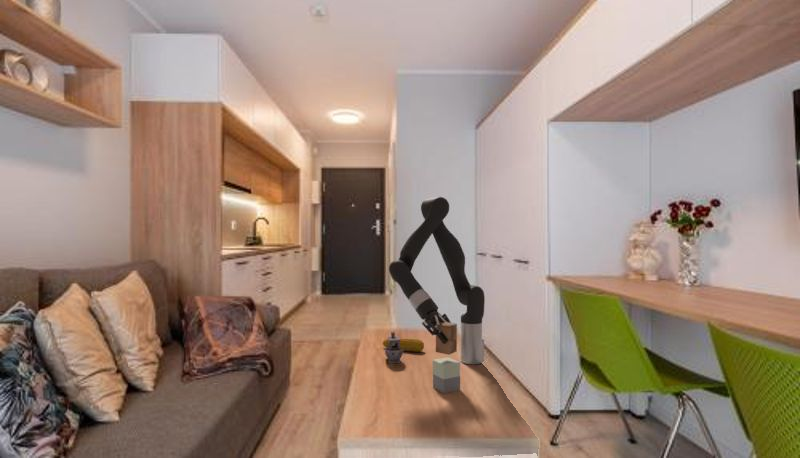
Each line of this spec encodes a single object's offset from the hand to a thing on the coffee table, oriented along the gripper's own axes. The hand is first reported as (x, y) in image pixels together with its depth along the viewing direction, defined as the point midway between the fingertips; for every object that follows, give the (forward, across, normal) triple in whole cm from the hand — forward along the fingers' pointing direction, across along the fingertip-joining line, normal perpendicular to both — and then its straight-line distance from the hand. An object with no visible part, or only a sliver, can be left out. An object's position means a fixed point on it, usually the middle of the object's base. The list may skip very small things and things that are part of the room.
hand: (450, 340), depth 154 cm
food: (-19, +32, +44) cm, 58 cm away
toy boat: (-13, +14, +39) cm, 43 cm away
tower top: (+8, 0, +10) cm, 13 cm away
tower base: (+11, 0, +14) cm, 18 cm away
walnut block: (+2, 0, +4) cm, 5 cm away
